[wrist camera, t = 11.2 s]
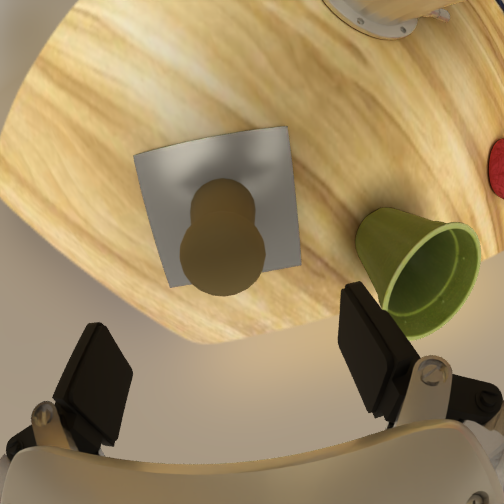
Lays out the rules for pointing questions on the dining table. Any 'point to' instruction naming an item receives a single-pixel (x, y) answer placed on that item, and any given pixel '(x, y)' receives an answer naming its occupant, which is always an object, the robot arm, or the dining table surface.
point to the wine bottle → (497, 168)
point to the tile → (229, 167)
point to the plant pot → (418, 267)
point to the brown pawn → (222, 239)
